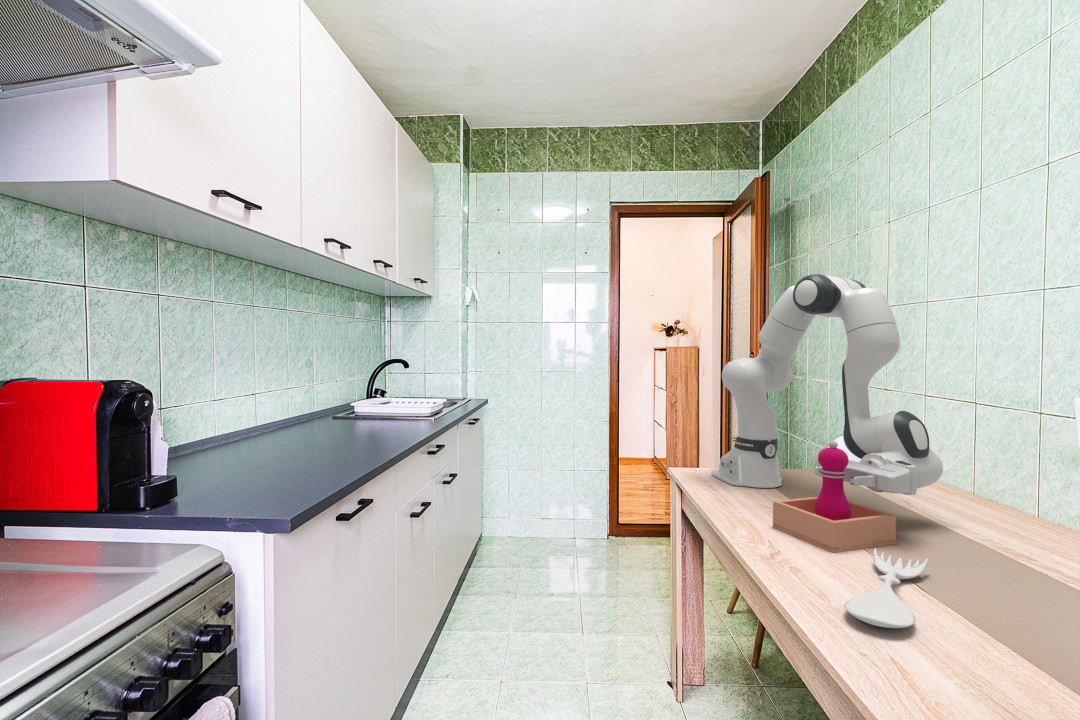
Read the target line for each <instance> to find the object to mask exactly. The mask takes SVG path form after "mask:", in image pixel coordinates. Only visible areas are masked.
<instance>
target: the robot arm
mask: <svg viewBox="0 0 1080 720" xmlns="http://www.w3.org/2000/svg"><path fill="white" fill-rule="evenodd" d="M782 293H783V294H781V296H780V297H779V299H778V300H777V302H776V303H775V304H774V305H773V308H772V309H771V311H770V312H769V315H768V316H767V318H766V320H765V322H764V324H763V326H762V327H761V329H760V331H759V333H758V342H759V343H760V350H759V352H758V354H757V356H756V357H741V358H737V359H734V360H731V361H729V362H727V363H726V364H725V365H724V367H723V369H722V372H721V380H722V383H723V385H724V387H725V388H726V389H727V390H728V392H730V394H731V395H732V398H733V400H734V403H735V406H736V411H737V412H736V413H737V436H736V437H732V442H734V445H733V448H732V449H731V450H728V452H726V453H725V454H723V456H721V457H720V459H719V467H718V470H714V471H712V472H711V476H712V477H715V478H716V479H719V480H721V481H723V482H725V483H727V484H728V485H731V486H738V487H740V486H741V487H749V488H761V489H763V488H764V489H767V488H768V489H769V488H770V489H771V488H777V487H778V488H779V487H780V486H782V485H783V484H782V482H783V478H782V477H781V473H780V462H779V455H778V453H777V451H778V449H779V448H778V447H779V442H778V440H779V439H778V438H777V413H776V411H775V410H774V409H773V408H772V407H771V406H770V404H769V402H768V397H767V393H768V394H769V393H776V392H779V391H782V390H783V389H786V388H787V387H789V385H790V384H791V383H792V380H793V371H792V368H791V364H792V360H793V356H794V353H795V351H796V349H797V347H798V345H799V344H800V342H801V340H802V338H803V337H804V335H805V333H806V331H807V330H808V327H809V326H810V325H811V322H812V321H813V319H814V318H815V317H816V316H820V317H826V318H841V320H842V322H843V325H844V329H845V334H846V335H845V336H846V338H847V339H846V340H847V348H846V351H847V352H846V356H845V360H843V364H842V367H841V384H842V387H841V388H842V397H843V399H842V400H843V410H844V411H843V412H844V426H843V435H842V436H843V442H844V446H845V447H846V448H847V450H848V451H849V452H850V453H851V454H853V455H854V456H855V457H857V458H858V459H860V461H855V460H850V459H848V460H849V462H848V465H847V467H846V468H845V469H844V470H845V471H846V473H845V475H846V477H845V478H844V480H843V482H848V483H849V484H850V485H852V486H856V487H857V486H859V487H860V486H863V487H866V488H867V489H869V490H871V491H872V492H875V493H888V494H889V493H890V494H897V495H898V494H901V495H905V496H906V495H907V496H913V495H914V496H915V495H916V494H917V491H918V490H917V489H921V488H926V487H929V486H931V485H933V484H935V483H936V482H938V480H939V479H940V478H941V477H942V475H943V471H944V465H943V461H942V460H941V458H940V456H938V454H936V453H935V452H934V451H933V450H932V449H931V447H930V437H929V433H928V429H927V427H926V426H925V424H924V423H923V422H922V420H921V419H920V418H919V417H917V416H916V415H915V414H913V413H912V412H909V411H907V410H900V411H899V410H898V411H894V412H890V413H885V414H881V415H877V416H873V417H871V412H870V411H871V410H870V409H871V408H870V400H869V399H870V398H869V385H870V382H871V380H872V378H873V377H874V376H875V374H877V373H878V372H879V371H880V370H881V369H882V368H883V367H885V366H886V365H887V364H889V363H890V362H891V361H892V360H893V359H894V358H895V357H896V355H897V353H898V352H899V349H900V346H901V345H900V343H901V341H900V339H901V338H900V333H899V330H898V326H897V321H896V319H895V316H894V313H893V310H892V308H891V305H890V304H889V301H888V299H887V297H886V296H885V294H884V292H882V290H880V289H878V288H876V287H866V285H865V284H863V283H861V281H858V280H855V279H849V278H848V277H844V276H838V275H824V274H819V273H816V274H810V275H809V274H808V275H806V276H803V277H802V278H800V279H799V280H798V281H797V283H796V284H794V285H791V286H789V287H788V288H787V289H786V290H785V291H784V292H782ZM821 468H822V466H821V465H820V464H819V462H818V459H817V461H816V467H814V475H815V476H818V477H822V476H821V475H820V473H821V471H820V469H821Z"/></svg>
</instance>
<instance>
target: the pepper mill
mask: <svg viewBox="0 0 1080 720" xmlns="http://www.w3.org/2000/svg"><path fill="white" fill-rule="evenodd" d="M838 445H839V444H838V442H837V441H836V440H830V441H829V443H828V447H824V448H823V449H821V450H820V452H818V456H817V460H818V462H819V464H820V465H821V466H822V468H821V469H820V471H821V473H820V475H821V476H820V477H822V484H821V490H820V492H819V494H818V496H817V497H818V498H817V500H816V503H815V508H814V511H815V513H816V515H819V516H822V517H824V518H827V519H830V520H833V521H836V520H844V519H849V518H850V517H851V508H850V505H849V502H848V501H849V500H848V498H847V496H846V493H845V489H844V481H843V480H844V478H845V477H846V475H845V473H846V471H845V470H844V469H845V468H846V467H847V465H848V462H849V460H850V459H849V456H848V455H847V453H846V451H844V450H842V449H841V448H838Z"/></svg>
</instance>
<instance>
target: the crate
mask: <svg viewBox="0 0 1080 720" xmlns="http://www.w3.org/2000/svg"><path fill="white" fill-rule="evenodd" d="M817 498H818V496H813V497H804V498H791V499H781V500H775V501H772V528H774V529H777V530H779V531H780V532H781V531H782V532H784V533H786V534H788V535H791V536H792V537H793V536H794V537H796V538H798V539H800V540H803V541H805V542H808V543H810V544H813V545H815V546H817V547H820V548H822V549H825V550H827V551H829V552H832V553H841V552H847V551H854V550H861V549H868V548H875V547H880V546H887V545H894V544H896V542H897V536H896V535H897V533H896V531H897V515H896V514H893V513H890V512H887V511H883V510H879V509H876V508H873V507H869V506H866V505H864V504H863V505H862V504H860V503H857V502H854V501H850V500H848V502H849V505H850V508H851V517H850V518H849V519H844V520H836V521H833V520H830V519H827V518H824V517H822V516H819V515H816V513H815V511H814V508H815V503H816V500H817Z"/></svg>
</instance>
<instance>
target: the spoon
mask: <svg viewBox="0 0 1080 720" xmlns="http://www.w3.org/2000/svg"><path fill="white" fill-rule="evenodd" d="M872 558H873V563H874V565H875V567H876V568H877V569H878V571H880V572H881V573H882V575H879V577H878V580H879V581H881V582H883V583H882V585H881V586H880V587H879V588H876V589H873V590H872V591H868V592H864V593H862V594H859V595H856V596H854V597H852V598H850V599H848V600H847V601H846V602H845V603H844V605H843V607H844V609H845V611H846V612H848V613H849V614H850V615H851V616H852V617H853V618H856V619H858V620H860V621H862V622H865V624H866V623H867V624H868V625H872V626H876V627H881V628H886V629H887V628H888V629H904V628H909V627H911V626H913V625H914V624H915V623H916V616H915V614H914V612H913V611H912V609H910V608H909V607H908V606H907V604H905V603H904V602H903V600H901V599H900V598H899V596H897V594H896V593H895V592H894V590H893V588H892V585H893V586H894V585H899V584H901V580H910V579H913V578H916V577H918V576H920V575H921V574H922V573H923V572H924V571H925V570H926V569H927V567H928V565H929V564H928V563H929V559H928V558H926V559H925V560H924V561H923V562H922V563H920V560H919V559H917V560H916V561H915V564H914V565H913V566H912V558H910V559H909V560H908V562H907V564H906V566H905V567H904V566H903V564H904V563H903V560H902V558H901V557H899V558H898V559H897V560H896V562H895V563H894V565H892V554H890V555H889V556H888V558H887V560H885V552H884V551H883V552H881V555H878V550H877V548H875V547H874V548H873V552H872Z"/></svg>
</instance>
